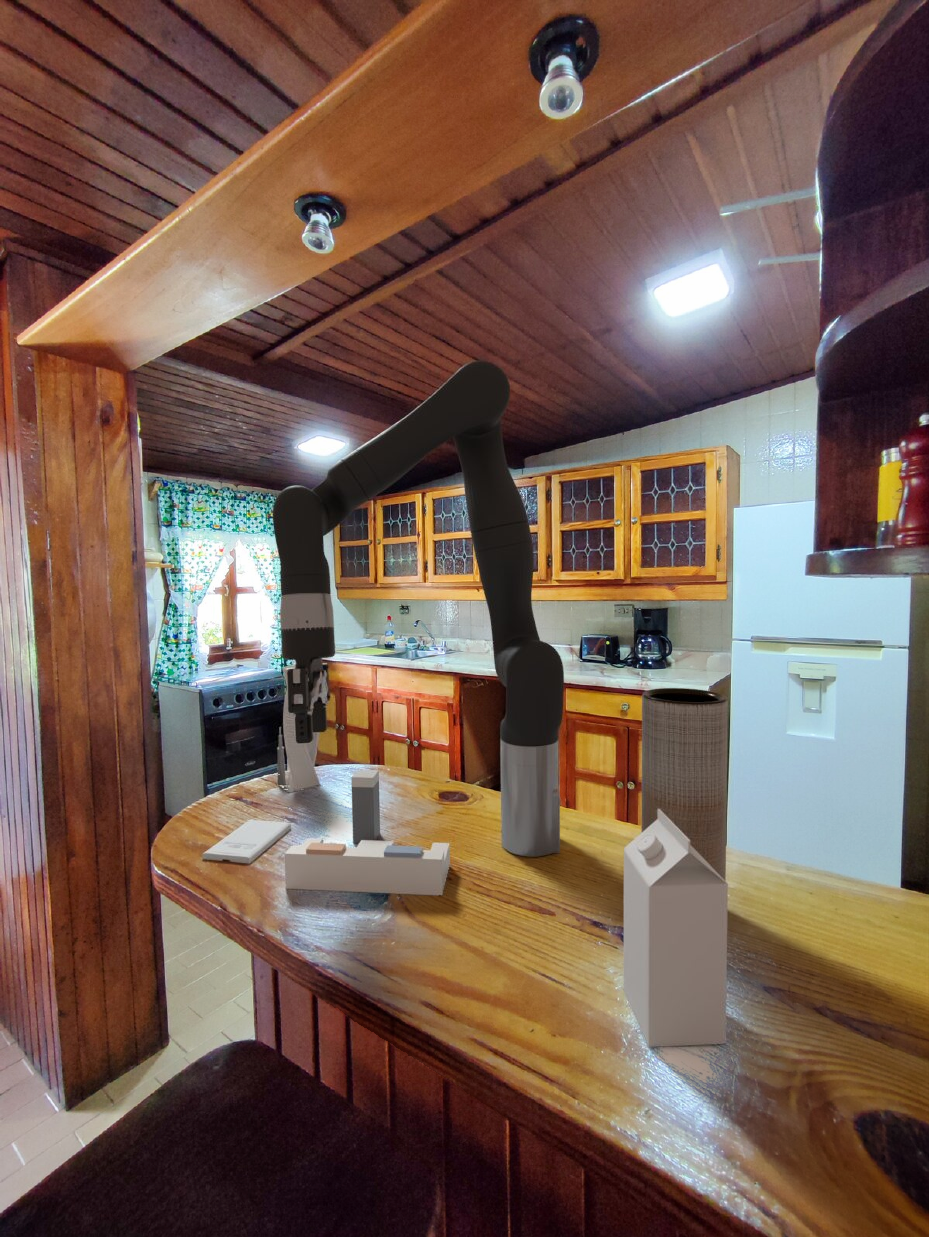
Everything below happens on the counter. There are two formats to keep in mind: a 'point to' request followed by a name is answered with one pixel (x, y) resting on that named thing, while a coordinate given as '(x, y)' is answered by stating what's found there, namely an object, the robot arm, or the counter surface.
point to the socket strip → (367, 867)
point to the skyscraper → (296, 752)
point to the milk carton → (674, 939)
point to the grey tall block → (365, 805)
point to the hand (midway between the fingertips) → (312, 737)
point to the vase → (687, 766)
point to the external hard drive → (247, 841)
